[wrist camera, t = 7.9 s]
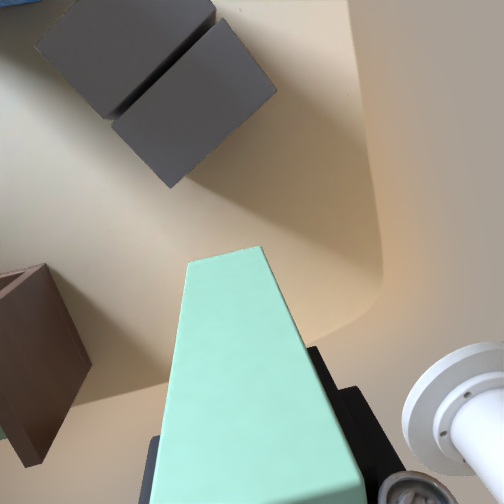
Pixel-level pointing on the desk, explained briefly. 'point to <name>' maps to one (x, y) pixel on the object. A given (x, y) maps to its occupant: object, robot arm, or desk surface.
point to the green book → (247, 399)
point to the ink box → (15, 2)
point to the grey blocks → (159, 75)
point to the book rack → (36, 362)
